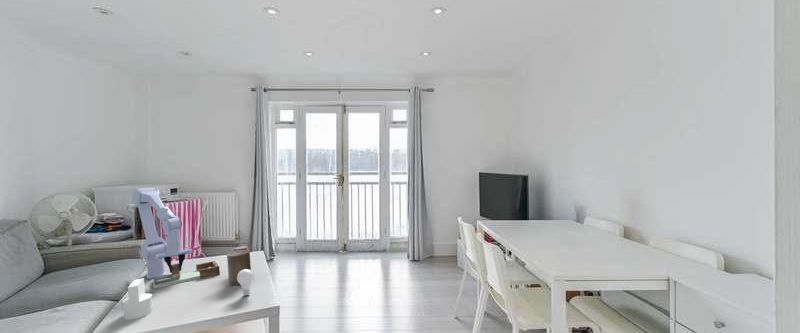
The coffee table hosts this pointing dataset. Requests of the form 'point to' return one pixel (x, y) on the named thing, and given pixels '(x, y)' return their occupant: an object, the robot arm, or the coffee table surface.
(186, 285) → the coffee table surface
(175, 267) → the block
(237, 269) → the pillar candle
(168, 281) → the rail
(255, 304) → the coffee table surface
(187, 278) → the plate
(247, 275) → the lightbulb
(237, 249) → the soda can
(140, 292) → the cylinder with rectangular tab
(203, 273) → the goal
